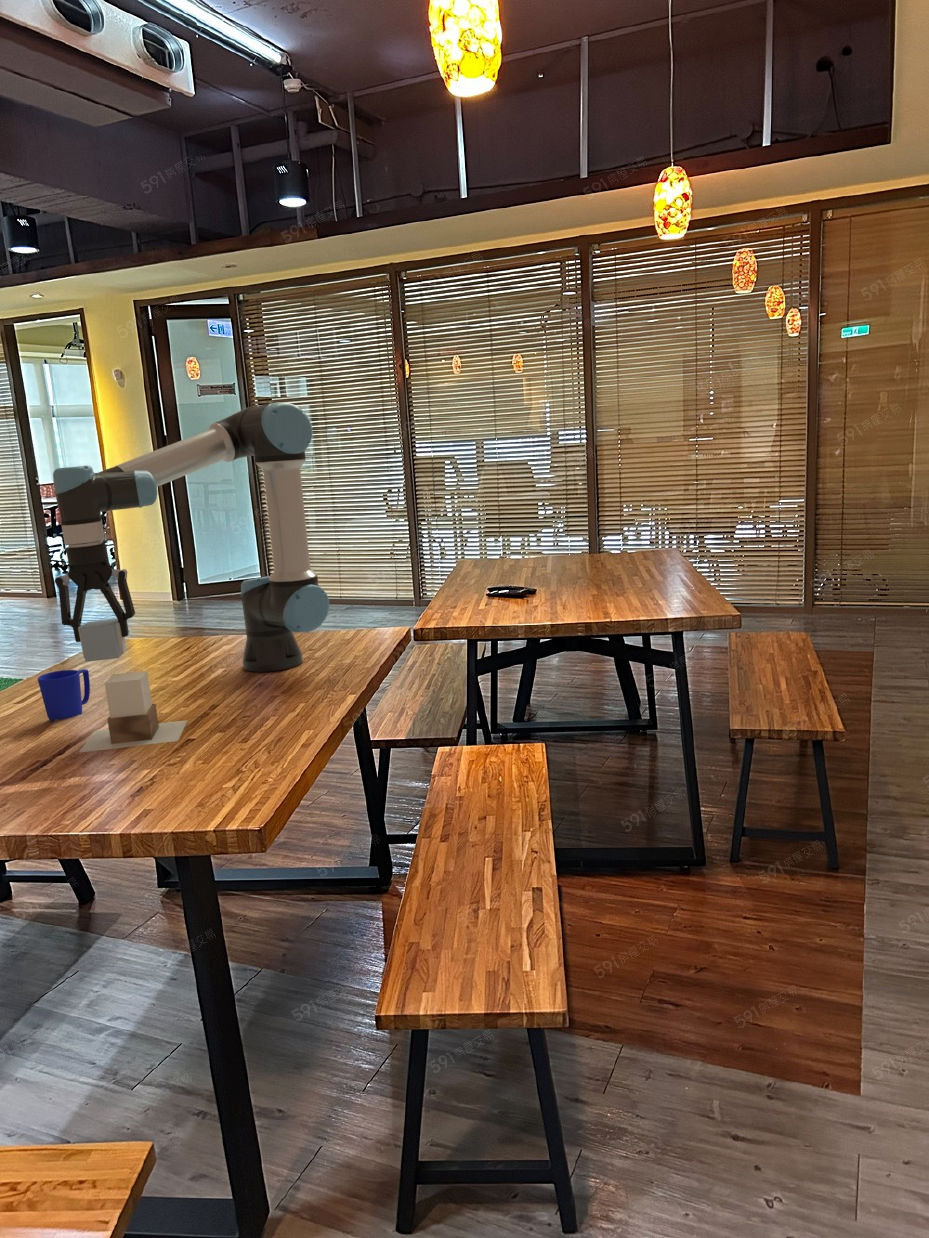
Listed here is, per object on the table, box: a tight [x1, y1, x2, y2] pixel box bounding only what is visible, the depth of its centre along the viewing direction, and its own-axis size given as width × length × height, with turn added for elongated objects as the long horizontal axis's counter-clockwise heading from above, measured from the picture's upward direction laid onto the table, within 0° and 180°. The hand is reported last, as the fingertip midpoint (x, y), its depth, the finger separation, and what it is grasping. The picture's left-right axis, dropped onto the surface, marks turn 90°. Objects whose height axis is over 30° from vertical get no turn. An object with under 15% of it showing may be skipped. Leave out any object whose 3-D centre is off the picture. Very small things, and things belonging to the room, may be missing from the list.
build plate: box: [78, 719, 189, 753], centre depth 168 cm, size 18×13×1 cm
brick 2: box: [104, 670, 153, 718], centre depth 166 cm, size 6×6×7 cm
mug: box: [37, 669, 91, 723], centre depth 187 cm, size 8×12×10 cm
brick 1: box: [79, 618, 123, 663], centre depth 176 cm, size 6×6×7 cm
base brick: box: [107, 703, 159, 744], centre depth 167 cm, size 8×8×5 cm
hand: (105, 654), depth 177 cm, fingers closed on brick 1, 6 cm apart
